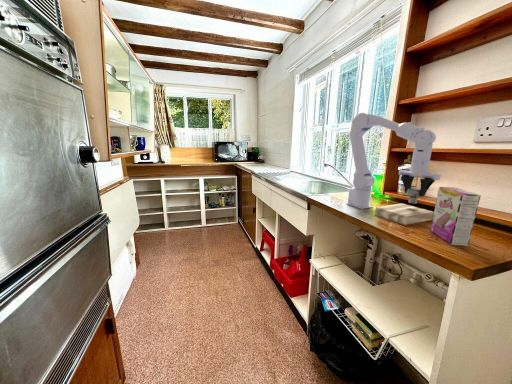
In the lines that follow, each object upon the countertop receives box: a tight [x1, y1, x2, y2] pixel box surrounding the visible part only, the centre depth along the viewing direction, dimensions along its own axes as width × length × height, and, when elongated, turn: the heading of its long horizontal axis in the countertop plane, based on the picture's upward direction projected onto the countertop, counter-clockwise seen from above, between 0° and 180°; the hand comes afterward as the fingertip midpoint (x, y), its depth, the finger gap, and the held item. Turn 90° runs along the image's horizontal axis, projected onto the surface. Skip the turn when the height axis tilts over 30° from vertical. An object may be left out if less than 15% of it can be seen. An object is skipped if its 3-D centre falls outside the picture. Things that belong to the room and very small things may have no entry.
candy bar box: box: [429, 186, 482, 247], centre depth 68 cm, size 11×5×16 cm, turn 168°
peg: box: [405, 187, 421, 205], centre depth 87 cm, size 5×5×6 cm
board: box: [374, 203, 434, 226], centre depth 90 cm, size 13×17×4 cm
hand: (414, 194), depth 87 cm, fingers closed on peg, 5 cm apart
